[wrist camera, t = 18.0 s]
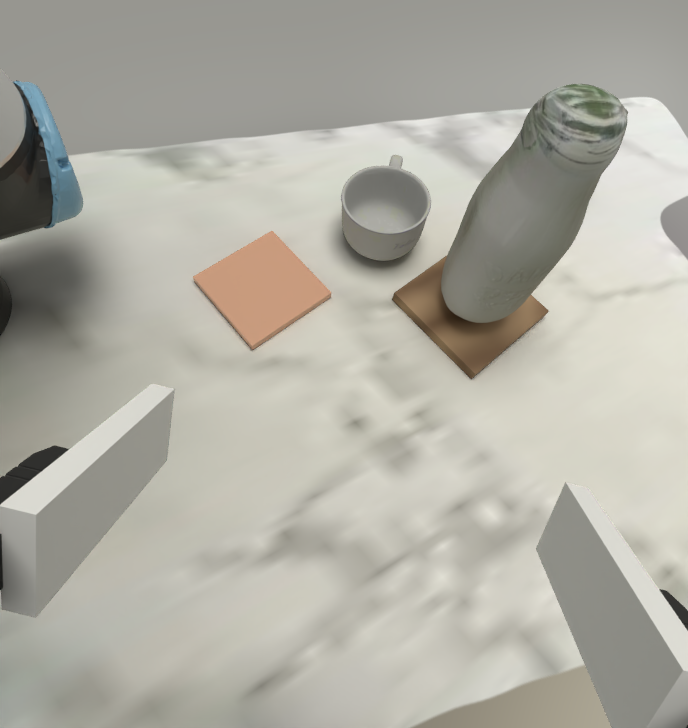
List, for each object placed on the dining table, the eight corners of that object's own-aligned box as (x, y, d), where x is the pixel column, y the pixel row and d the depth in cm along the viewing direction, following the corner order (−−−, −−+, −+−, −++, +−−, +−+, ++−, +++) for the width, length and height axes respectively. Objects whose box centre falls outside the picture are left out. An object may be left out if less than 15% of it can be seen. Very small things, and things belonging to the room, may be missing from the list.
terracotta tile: (194, 281, 60) (192, 276, 59) (272, 235, 64) (272, 230, 63) (252, 350, 57) (251, 346, 56) (330, 297, 61) (331, 292, 60)
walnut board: (392, 299, 61) (394, 293, 60) (465, 246, 66) (469, 239, 65) (471, 379, 58) (475, 374, 56) (543, 316, 62) (548, 311, 61)
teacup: (399, 284, 63) (413, 244, 55) (323, 252, 64) (327, 209, 56) (434, 211, 68) (451, 166, 61) (364, 182, 69) (372, 135, 62)
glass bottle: (492, 263, 63) (623, 49, 38) (520, 331, 59) (688, 142, 34) (421, 273, 62) (508, 56, 36) (445, 344, 58) (562, 155, 32)
